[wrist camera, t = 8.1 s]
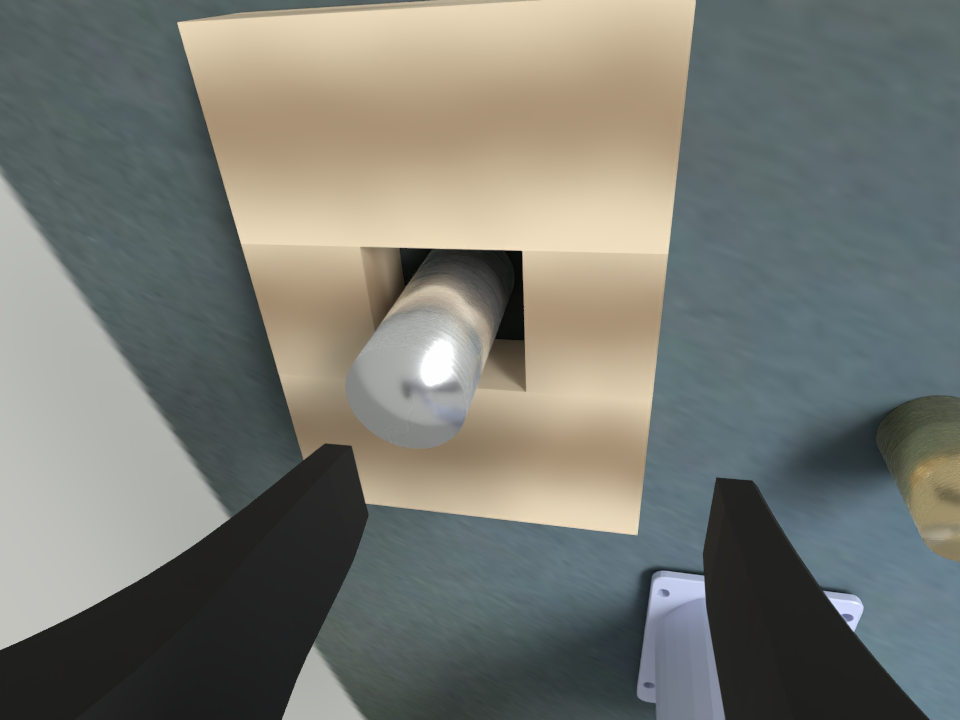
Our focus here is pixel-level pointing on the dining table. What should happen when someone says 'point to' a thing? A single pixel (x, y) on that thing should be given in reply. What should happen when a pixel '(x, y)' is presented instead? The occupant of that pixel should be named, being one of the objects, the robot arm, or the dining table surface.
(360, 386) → the long pin
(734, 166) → the dining table surface
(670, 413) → the dining table surface
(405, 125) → the hole block
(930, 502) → the short pin
